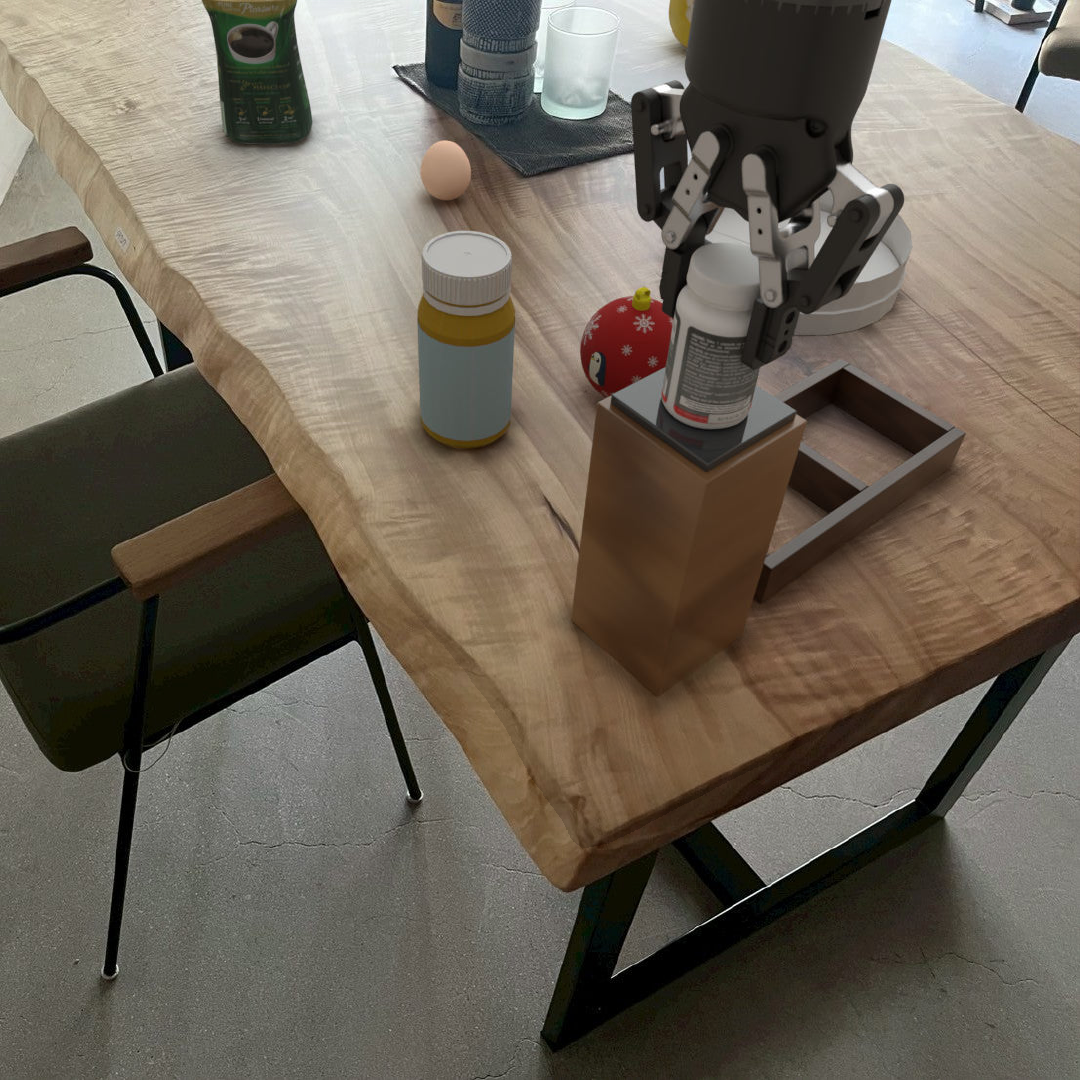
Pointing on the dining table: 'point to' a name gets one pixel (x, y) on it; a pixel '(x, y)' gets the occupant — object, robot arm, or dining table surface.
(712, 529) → the riser
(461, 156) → the egg
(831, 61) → the robot arm
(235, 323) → the dining table surface
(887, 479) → the rack
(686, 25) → the fruit
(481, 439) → the bottle
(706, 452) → the coaster
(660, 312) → the christmas ornament
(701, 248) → the pill bottle
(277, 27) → the coffee jar
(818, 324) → the dish
